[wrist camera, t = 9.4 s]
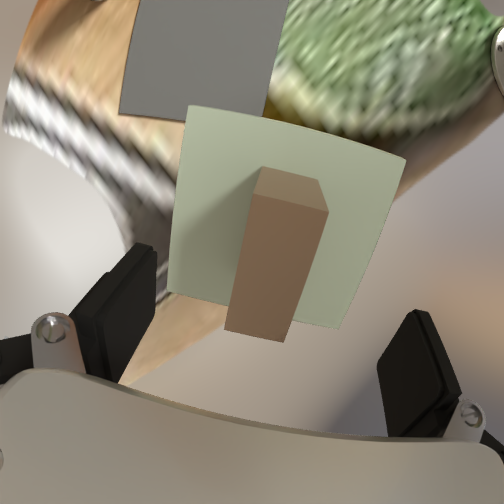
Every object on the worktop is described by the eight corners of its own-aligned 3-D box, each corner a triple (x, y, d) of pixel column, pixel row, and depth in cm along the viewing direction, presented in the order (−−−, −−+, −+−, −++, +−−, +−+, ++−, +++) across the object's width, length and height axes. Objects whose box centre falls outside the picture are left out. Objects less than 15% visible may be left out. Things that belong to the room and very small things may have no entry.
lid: (401, 157, 16) (447, 186, 11) (337, 322, 22) (346, 385, 16) (192, 104, 16) (150, 110, 11) (170, 284, 21) (139, 340, 16)
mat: (290, -5, 24) (290, -6, 23) (258, 133, 31) (257, 134, 31) (146, -15, 24) (145, -16, 23) (120, 112, 31) (119, 112, 31)
